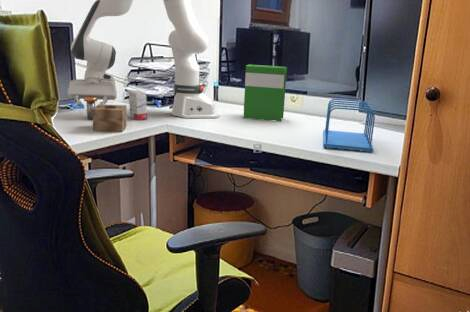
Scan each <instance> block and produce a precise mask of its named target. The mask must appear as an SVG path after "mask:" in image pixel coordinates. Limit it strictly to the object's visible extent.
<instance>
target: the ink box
mask: <svg viewBox="0 0 470 312" xmlns="http://www.w3.org/2000/svg"><path fill="white" fill-rule="evenodd" d="M128 99H129V100H128V101H129V103H128V104H129V118H131V119H134V120H137V121H143V120H148V115H147V113H148V112H147V92H146V91H145V92H144V91H142V90H139V89H137V90H128Z"/></svg>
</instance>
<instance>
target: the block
mask: <svg viewBox="0 0 470 312" xmlns="http://www.w3.org/2000/svg"><path fill="white" fill-rule="evenodd" d="M127 116H128V115H127V104H125V105H124V104H104V105H101V104H100V103H99V104H97V105H95V108H93V120H92V131H93V132H105V133H106V132H109V133H110V132H111V133H124V130H125V129H126V128H127V126H128V118H127Z"/></svg>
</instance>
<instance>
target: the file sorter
mask: <svg viewBox="0 0 470 312" xmlns="http://www.w3.org/2000/svg"><path fill="white" fill-rule="evenodd" d="M333 110H349V111H360V112H361V111H362V112H366V117H365V124H364V130H363V133H362V132H360V133H359V132H352V131H341V130H340V131H339V130H331V129H330V130H329V128H330V127H329V126H330V121H331V113H332V112H333ZM375 118H376V116H375V113H374V112H373V110H372V108H371V107H370V105H369V103H368V102H367V101H365V100H359V99H350V98H349V99H347V98H332V99H330V101H328V104H327V111H326V118H325V119H326V120H325V128H324V129H323V132H322V136H323V137H322V138H323V139H322V143H323V144H322V145H323V146H322V147H323V148H324V147H328V148H327V149H331V148H338V149H337V150H344V149H350V150H349V151H354V150H362V151H373V150H374V148H373V145H372V142H373V134H374V127H375V120H376V119H375ZM362 151H361V152H362Z"/></svg>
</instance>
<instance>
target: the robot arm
mask: <svg viewBox="0 0 470 312" xmlns="http://www.w3.org/2000/svg"><path fill="white" fill-rule="evenodd" d="M133 1H134V0H95V1H94V2H93V4H92V6H91V8H90V9H89V11H88V13H87V15H86V17H85V19H84V20H83V22H82V25H81V27H80V29H79V30H78V33H77V34H76V36H75V38H73V40H72V42H71V45H70V53H71V55H72V56H73V57H74V58H75V59H77V60H80V61H86V66H85V67H86V70H85V71H84V77H83V79H82V78H81V79H80V78H76V79H75V78H74V79H72V80H70V81H69V84H68V89H67V95H68V98H69V99H75V101H76V106H77V107H82V104H83V103H82V101H81V100H84V97H87V96H94V97H97V100H99V104H101V105H106V104H107V103H108V101H114V100H116V99H117V97H118V96H117V95H118V94H117V92H118V91H117V86H116V81H115V78H114V76H113V75H110V74H107V70H109V69H111V68H112V67H113V66H114V64H115V63H116V61H115V60H116V55H117V54H116V53H117V51H116V48H115V47H114V46H113V45H111V44H109V43H106V42H103V41H100V40H98V39H97V40H96V39H93V38H90V33H91V32H92V29H93V28H94V26H95V24H96V22H97V20H99V19H101V18H105V17H119V16H123V15H125V14H127V13H128V12H129V11H130V9H131V7H132V4H133ZM163 5H164V7H165V11H166V14H167V19H168V20H169V21H170V22H171V23H172V26H173V28H174V30H173V31H171V32H170V33H169V35H168V40H167V41H168V45H169V47H170V49H171V52H172V57H173V62H174V84H173V96H174V99H173V105H172V108H171V109H172V110H171V113H170V114H171V115H172V116H175V117H181V118H182V119H217V118H219V117H220V112H219V111H217V110H216V106H215V103H214V101H213V100H212V99H211V98H210V97H209V96H207V95H206V94H205V93H204V91H205V87H204V86H203V85H201V84H200V66H199V64H198V62H197V59H196V55H200V54H202V53H204V52H205V51H206V50H207V49H208V46H209V39H208V36H207V34H206V33H205V32H204V31H203V30H202V28H201V26H200V24H199V22H198V20H197V18H196V15H195V14H194V11H193V9H192V8H193V7H192V4H191V0H163ZM100 100H102V101H100Z"/></svg>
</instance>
